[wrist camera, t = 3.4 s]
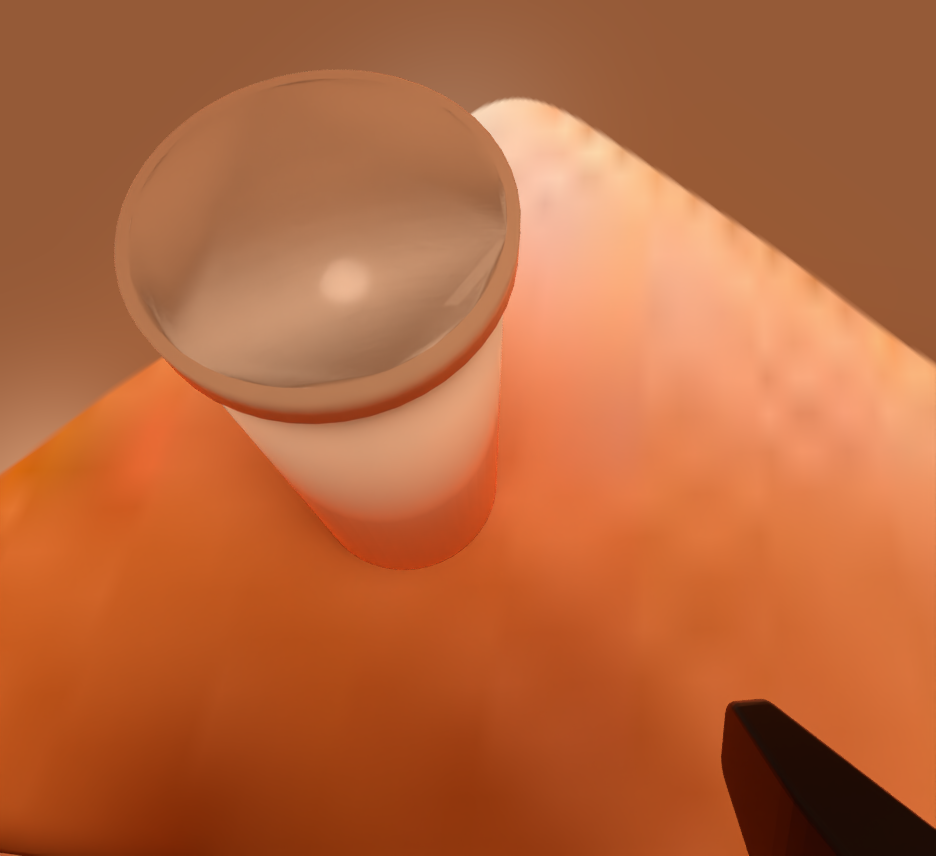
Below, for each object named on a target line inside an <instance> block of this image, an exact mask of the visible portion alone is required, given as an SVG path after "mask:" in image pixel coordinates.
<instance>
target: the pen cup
mask: <svg viewBox="0 0 936 856" xmlns="http://www.w3.org/2000/svg"><path fill="white" fill-rule="evenodd" d="M520 211H521V210H520V203H519V196H518V189H517V186H516V183H515V180H514V177H513V173H512V170H511V168H510V166H509V164H508V162H507V160H506V158H505V156H504V154H503V152H502V150H501V149H500V147H499V146H498V144H497V143H496V142H495V140H494V139H493V137H492V136H491V134H490V133H489V132H488V131H487V130H486V129H485V128H484V127H483V126H482V125H481V124H480V123H479V122H478V121H477V119H476V118H474V117H473V116H472V115H471V114H469V113H468V112H467V111H465V110H464V109H463V108H462V107H461V106H459V105H458V104H456V103H455V102H453V101H451V100H450V99H448V98H447V97H445V96H443V95H442V94H440V93H438V92H436V91H434V90H431V89H429V88H427V87H425V86H423V85H421V84H418V83H415V82H412V81H409V80H406V79H403V78H400V77H395V76H391V75H386V74H381V73H376V72H368V71H359V70H318V71H306V72H300V73H294V74H289V75H283V76H279V77H276V78H272V79H268V80H265V81H261V82H258V83H255V84H253V85H250V86H247V87H245V88H242V89H240V90H237V91H235V92H233V93H231V94H229V95H227V96H225V97H222V98H220V99H218V100H216V101H215V102H213V103H211V104H210V105H208V106H207V107H205V108H203V109H202V110H200V111H199V112H197V113H195V114H194V115H193V116H191V117H190V118H189V119H187V120H186V121H185V122H184V123H182V124H181V125H180V126H179V127H177V128H176V129H175V130H174V131H173V132H172V133H171V134H170V135H169V136H168V137H167V138H166V139H165V140H164V141H163V142H162V143H161V144H160V145H159V146H158V147H157V148H156V149H155V151H154V152H153V153H152V155H151V156H150V157H149V158H148V159H147V160H146V162H145V163H144V164H143V166H142V168H141V169H140V171H139V172H138V174H137V176H136V177H135V179H134V181H133V182H132V184H131V187H130V189H129V191H128V193H127V195H126V198H125V200H124V202H123V205H122V209H121V212H120V216H119V219H118V223H117V228H116V236H115V244H114V252H115V253H114V254H115V270H116V275H117V280H118V285H119V290H120V292H121V294H122V297H123V300H124V303H125V305H126V308H127V310H128V312H129V314H130V315H131V317H132V319H133V320H134V322H135V324H136V325H137V327H138V328H139V330H140V331H141V332H142V334H143V335H144V336H145V337H146V338H147V340H148V341H149V342H150V343H151V344H152V346H153V347H154V348H155V349H156V350H157V351H158V352H159V354H160V355H161V356H162V357H163V358H164V359H165V360H166V361H167V362H168V363H169V365H170V366H171V367H172V368H173V369H174V370H175V371H176V372H177V373H178V374H179V375H180V376H181V377H182V378H183V379H185V380H186V381H187V382H188V383H189V384H190V385H192V386H193V387H194V388H195V389H197V390H198V391H200V392H201V393H203V394H205V395H206V396H208V397H209V398H211V399H212V400H214V401H216V402H218V403H220V404H222V405H223V406H224V408H225V409H226V410H227V411H228V412H229V413H230V415H231V416H232V417H233V418H234V419H235V420H236V422H237V423H238V424H239V425H240V426H241V427H242V429H243V430H244V431H245V432H246V433H247V434H248V436H249V437H250V438H251V439H252V440H253V441H254V443H255V444H256V445H257V446H258V447H259V448H260V450H261V451H262V452H263V453H264V454H265V456H266V457H267V458H268V459H269V460H270V461H271V463H272V464H273V465H274V466H275V467H276V468H277V470H278V471H279V472H280V473H281V474H282V475H283V477H284V478H285V479H286V480H287V481H288V482H289V484H290V485H291V486H292V487H293V488H294V489H295V491H296V492H297V493H298V494H299V495H300V496H301V498H302V499H303V500H304V501H305V502H306V503H307V505H308V506H309V507H310V508H311V509H312V510H313V512H314V513H315V514H316V515H317V516H318V518H319V519H320V520H321V521H322V522H323V523H324V525H325V526H326V527H327V528H328V529H329V530H330V532H331V533H332V534H333V535H334V536H335V537H336V539H337V540H338V541H339V542H340V543H341V544H342V545H343V546H344V547H345V548H346V549H347V550H348V551H350V552H351V553H352V554H354V555H355V556H357V557H358V558H360V559H362V560H364V561H366V562H368V563H370V564H374V565H377V566H380V567H384V568H389V569H399V570H409V569H419V568H424V567H428V566H432V565H434V564H437V563H440V562H442V561H444V560H446V559H448V558H450V557H452V556H454V555H455V554H457V553H458V552H459V551H461V550H462V549H464V548H465V547H466V546H467V545H468V544H469V543H470V542H471V541H472V540H473V539H474V538H475V537H476V535H477V534H478V533H479V532H480V530H481V529H482V527H483V526H484V524H485V523H486V521H487V519H488V516H489V514H490V512H491V509H492V506H493V503H494V499H495V493H496V481H497V457H498V433H499V408H500V384H501V360H502V335H503V313H504V311H505V309H506V307H507V304H508V301H509V299H510V296H511V293H512V290H513V287H514V283H515V277H516V272H517V266H518V255H519V240H520Z"/></svg>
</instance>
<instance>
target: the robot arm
mask: <svg viewBox="0 0 936 856" xmlns="http://www.w3.org/2000/svg"><path fill="white" fill-rule="evenodd" d="M721 762H722V770H723V775H724V779H725V782H726V785H727V789H728V792H729V795H730V798H731V801H732V804H733V807H734V810H735V813H736V817H737V820H738V823H739V826H740V829H741V832H742V835H743V838H744V842H745V845H746V848H747V851H748V854H749V856H936V829H935V828H934V827H932V826H931V825H930V824H929V823H927V822H926V821H925V820H923V819H922V818H921V817H920V816H918V815H917V814H916V813H914V812H913V811H912V810H910V809H909V808H908V807H907V806H905V805H904V804H903V803H901V802H900V801H899V800H897V799H896V798H895V797H894V796H892V795H891V794H890V793H888V792H887V791H886V790H884V789H883V788H882V787H881V786H879V785H878V784H877V783H875V782H874V781H873V780H871V779H870V778H869V777H868V776H866V775H865V774H864V773H862V772H861V771H860V770H858V769H857V768H856V767H855V766H853V765H852V764H851V763H849V762H848V761H847V760H846V759H844V758H843V757H842V756H840V755H839V754H838V753H836V752H835V751H834V750H833V749H831V748H830V747H829V746H827V745H826V744H825V743H823V742H822V741H821V740H820V739H818V738H817V737H816V736H814V735H813V734H812V733H810V732H809V731H808V730H807V729H805V728H804V727H803V726H801V725H800V724H799V723H797V722H796V721H795V720H794V719H792V718H791V717H790V716H788V715H787V714H786V713H784V712H783V711H782V710H781V709H779V708H778V707H777V706H775V705H774V704H773V703H771V702H769V701H767V700H764V699H754V700H742V701H733V702H731V703H729V704H728V706H727V708H726V712H725V721H724V732H723V743H722V754H721Z"/></svg>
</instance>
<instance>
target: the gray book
mask: <svg viewBox="0 0 936 856" xmlns="http://www.w3.org/2000/svg"><path fill="white" fill-rule="evenodd" d="M0 856H20V855H13V854H6V853H0Z"/></svg>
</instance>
